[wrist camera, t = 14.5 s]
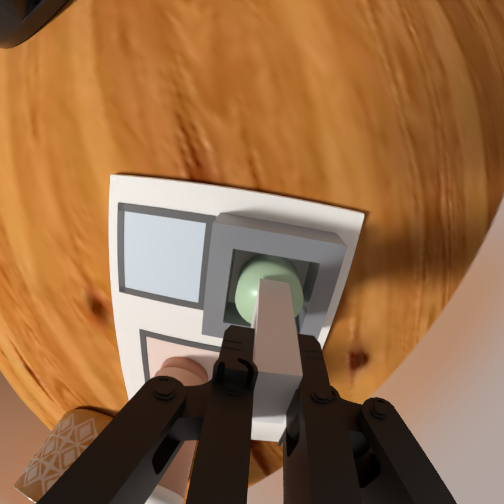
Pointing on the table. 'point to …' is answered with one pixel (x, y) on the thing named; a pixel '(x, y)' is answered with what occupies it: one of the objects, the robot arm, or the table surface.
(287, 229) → the button housing
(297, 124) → the table surface
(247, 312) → the button
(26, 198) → the table surface
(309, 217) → the sheet
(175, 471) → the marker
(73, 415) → the planter
